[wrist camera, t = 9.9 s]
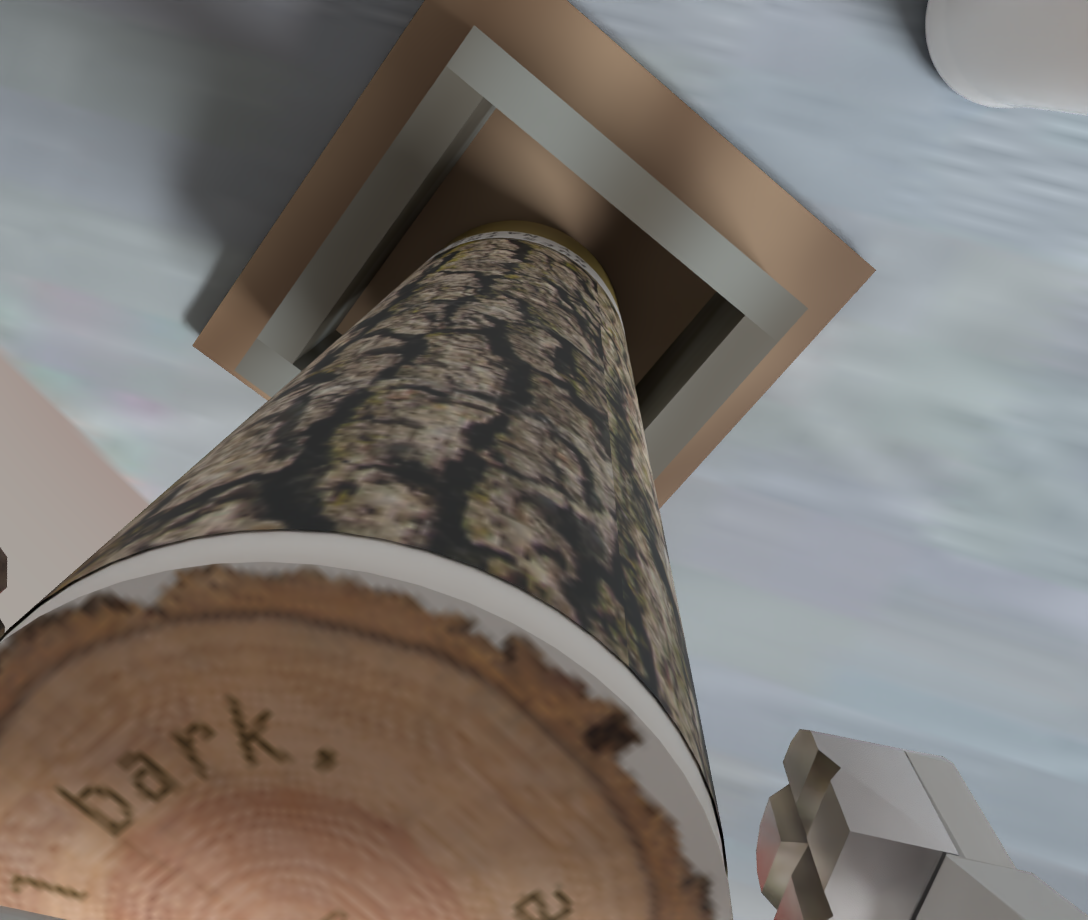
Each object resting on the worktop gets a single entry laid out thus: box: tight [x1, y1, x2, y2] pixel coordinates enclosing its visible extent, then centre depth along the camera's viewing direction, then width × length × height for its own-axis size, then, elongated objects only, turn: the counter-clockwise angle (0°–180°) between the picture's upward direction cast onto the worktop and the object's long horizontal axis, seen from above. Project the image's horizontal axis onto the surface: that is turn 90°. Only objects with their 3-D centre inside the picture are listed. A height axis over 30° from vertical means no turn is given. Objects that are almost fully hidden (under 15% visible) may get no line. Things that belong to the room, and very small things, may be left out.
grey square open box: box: [192, 0, 876, 509], centre depth 29 cm, size 16×16×6 cm
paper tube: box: [0, 220, 733, 920], centre depth 19 cm, size 7×7×25 cm
